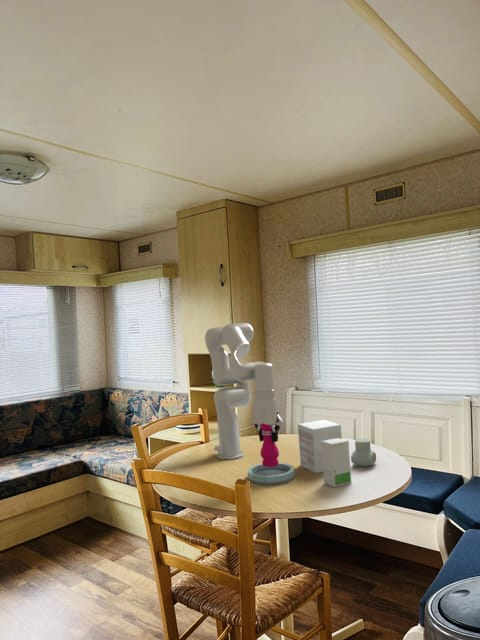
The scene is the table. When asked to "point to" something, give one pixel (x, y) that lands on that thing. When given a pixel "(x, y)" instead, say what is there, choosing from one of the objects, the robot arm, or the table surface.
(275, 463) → the pepper mill
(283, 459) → the table surface
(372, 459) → the air freshener
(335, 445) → the skincare box
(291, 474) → the round tray
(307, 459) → the supplement box
